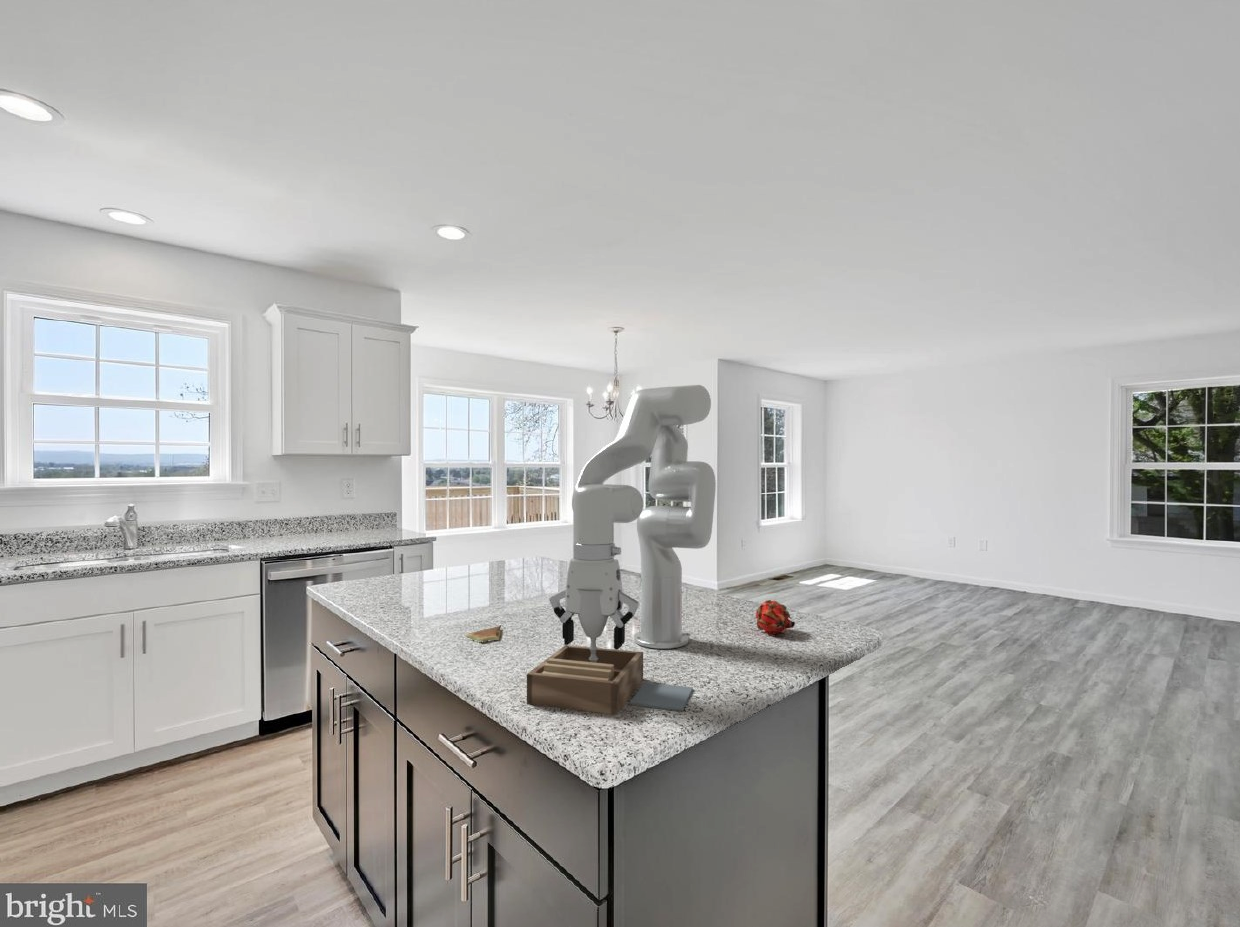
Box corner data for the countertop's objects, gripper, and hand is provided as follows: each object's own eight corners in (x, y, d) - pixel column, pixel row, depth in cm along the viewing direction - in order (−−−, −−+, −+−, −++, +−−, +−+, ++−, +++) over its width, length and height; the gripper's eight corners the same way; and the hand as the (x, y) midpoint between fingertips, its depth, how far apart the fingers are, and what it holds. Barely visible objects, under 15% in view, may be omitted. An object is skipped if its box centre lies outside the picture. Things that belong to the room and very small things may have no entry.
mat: (644, 684, 108) (644, 682, 108) (692, 689, 105) (692, 687, 105) (630, 704, 98) (630, 702, 98) (682, 711, 96) (682, 708, 96)
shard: (500, 631, 146) (500, 624, 146) (520, 636, 141) (520, 629, 141) (464, 640, 138) (464, 632, 138) (484, 646, 133) (484, 638, 133)
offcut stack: (549, 695, 103) (549, 658, 103) (614, 702, 100) (614, 664, 100) (541, 702, 100) (541, 664, 100) (607, 710, 96) (607, 671, 96)
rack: (565, 670, 116) (565, 645, 116) (643, 678, 111) (643, 652, 111) (526, 703, 99) (526, 674, 99) (616, 714, 94) (616, 683, 94)
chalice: (569, 681, 109) (569, 585, 110) (603, 676, 112) (603, 582, 113) (582, 694, 103) (582, 592, 103) (618, 689, 105) (618, 589, 106)
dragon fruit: (767, 632, 150) (784, 653, 138) (742, 614, 148) (756, 633, 137) (787, 606, 149) (806, 624, 137) (762, 587, 148) (778, 605, 136)
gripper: (643, 551, 109) (643, 643, 109) (558, 548, 114) (557, 636, 114) (633, 557, 102) (633, 655, 102) (542, 553, 107) (542, 647, 106)
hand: (593, 645), depth 108 cm, fingers open, 9 cm apart
